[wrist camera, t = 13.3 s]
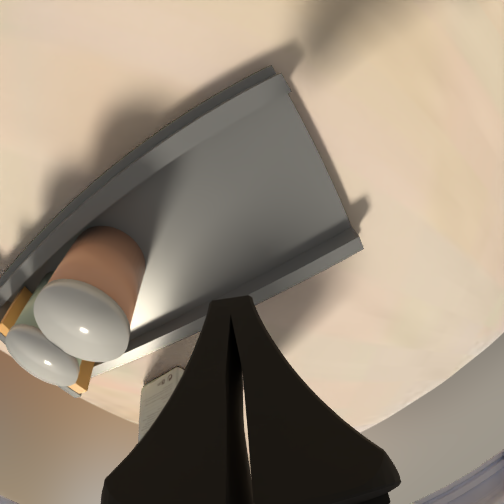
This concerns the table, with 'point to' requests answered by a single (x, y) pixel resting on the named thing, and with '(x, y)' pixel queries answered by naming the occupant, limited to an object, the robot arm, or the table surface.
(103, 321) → the jar
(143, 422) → the skincare box
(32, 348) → the jar
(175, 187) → the grey rectangular tray
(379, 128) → the table surface
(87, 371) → the pusher
